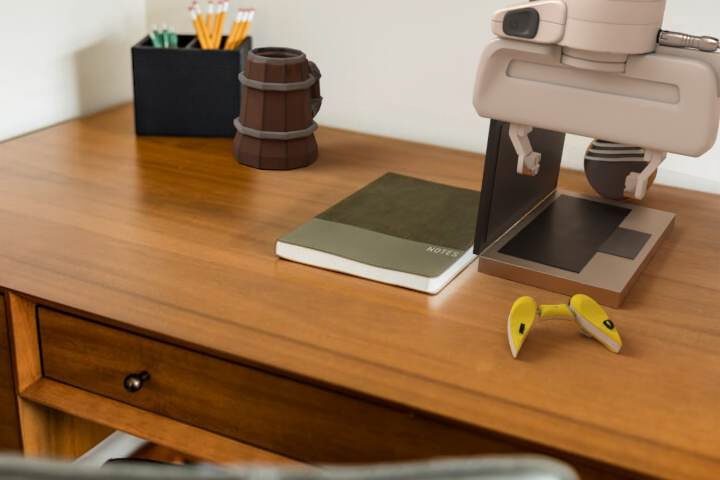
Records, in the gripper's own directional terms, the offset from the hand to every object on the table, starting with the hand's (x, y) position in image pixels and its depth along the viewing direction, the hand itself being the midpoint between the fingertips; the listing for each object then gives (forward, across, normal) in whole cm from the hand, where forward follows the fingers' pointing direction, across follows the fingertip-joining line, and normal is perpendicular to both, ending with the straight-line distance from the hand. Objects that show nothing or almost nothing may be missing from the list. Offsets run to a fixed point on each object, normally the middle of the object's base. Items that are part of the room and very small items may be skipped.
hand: (579, 184), depth 78 cm
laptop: (+15, +4, -22) cm, 27 cm away
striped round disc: (+15, +6, -40) cm, 43 cm away
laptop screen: (+5, +11, -22) cm, 25 cm away
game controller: (+15, 0, +1) cm, 15 cm away
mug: (+15, +51, -30) cm, 61 cm away
